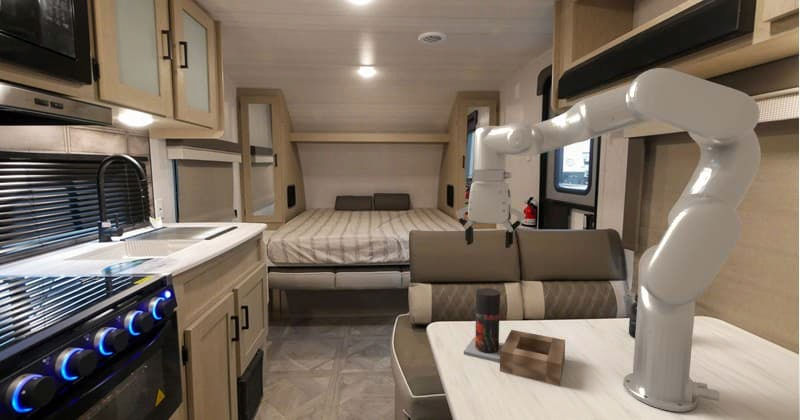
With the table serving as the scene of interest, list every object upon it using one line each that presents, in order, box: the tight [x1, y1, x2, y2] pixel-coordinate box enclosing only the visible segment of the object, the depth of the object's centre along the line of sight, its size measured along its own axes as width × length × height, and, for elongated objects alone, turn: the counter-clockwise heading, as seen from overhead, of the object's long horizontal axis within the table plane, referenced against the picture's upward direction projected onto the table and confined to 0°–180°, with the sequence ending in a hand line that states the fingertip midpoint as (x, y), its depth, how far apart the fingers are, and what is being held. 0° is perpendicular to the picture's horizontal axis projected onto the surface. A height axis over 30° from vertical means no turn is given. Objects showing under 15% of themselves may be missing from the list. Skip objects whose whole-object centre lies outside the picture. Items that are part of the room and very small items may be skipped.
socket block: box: [499, 329, 566, 387], centre depth 89 cm, size 13×13×5 cm
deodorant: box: [474, 287, 501, 353], centre depth 96 cm, size 6×6×15 cm
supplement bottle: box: [628, 292, 638, 339], centre depth 104 cm, size 7×7×12 cm
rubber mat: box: [463, 336, 505, 363], centre depth 97 cm, size 9×9×1 cm
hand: (488, 245), depth 94 cm, fingers open, 9 cm apart
